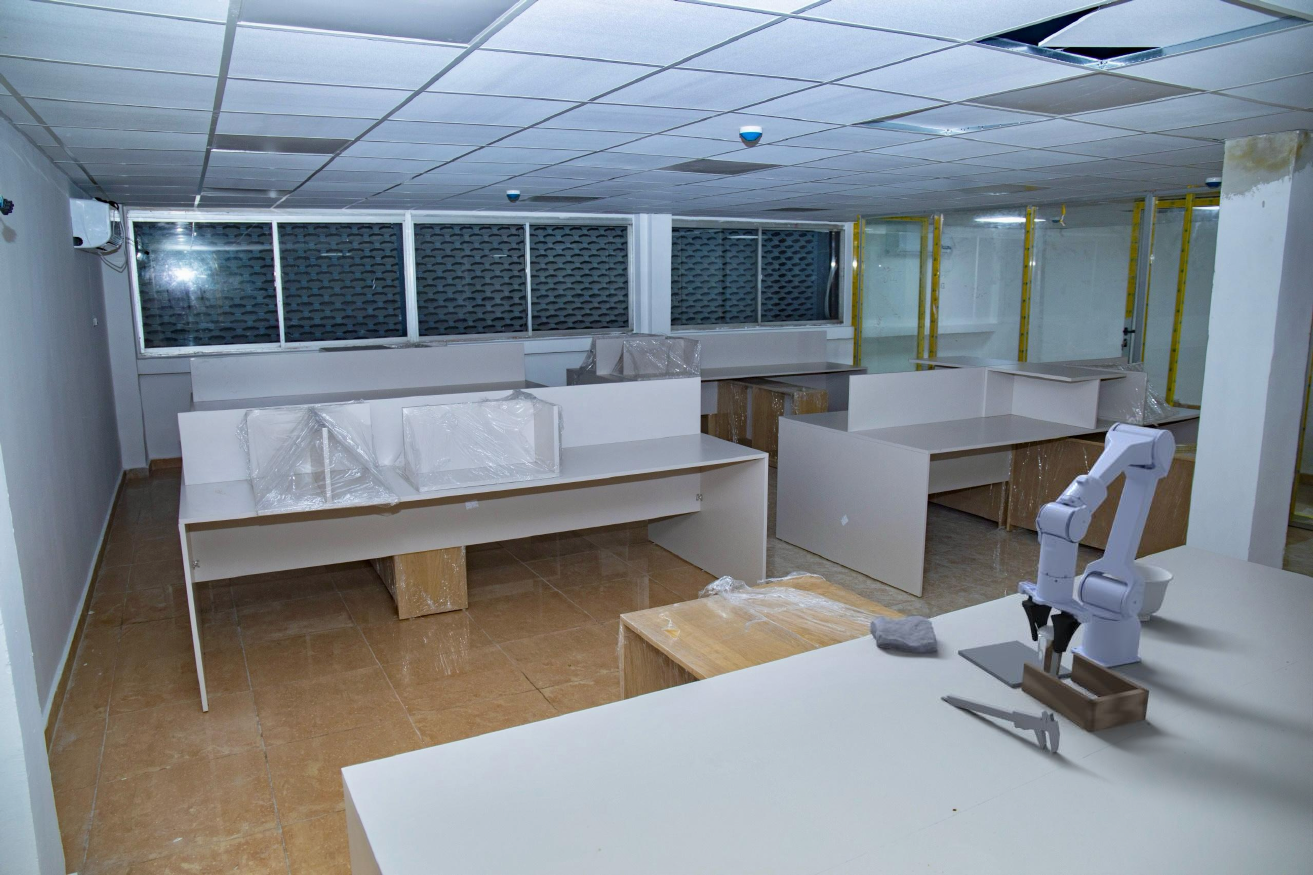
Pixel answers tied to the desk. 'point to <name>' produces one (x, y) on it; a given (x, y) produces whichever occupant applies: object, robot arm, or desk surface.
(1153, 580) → the teacup
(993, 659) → the mat
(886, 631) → the stone block
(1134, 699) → the open box
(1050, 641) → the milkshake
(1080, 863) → the desk surface
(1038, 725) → the caliper
